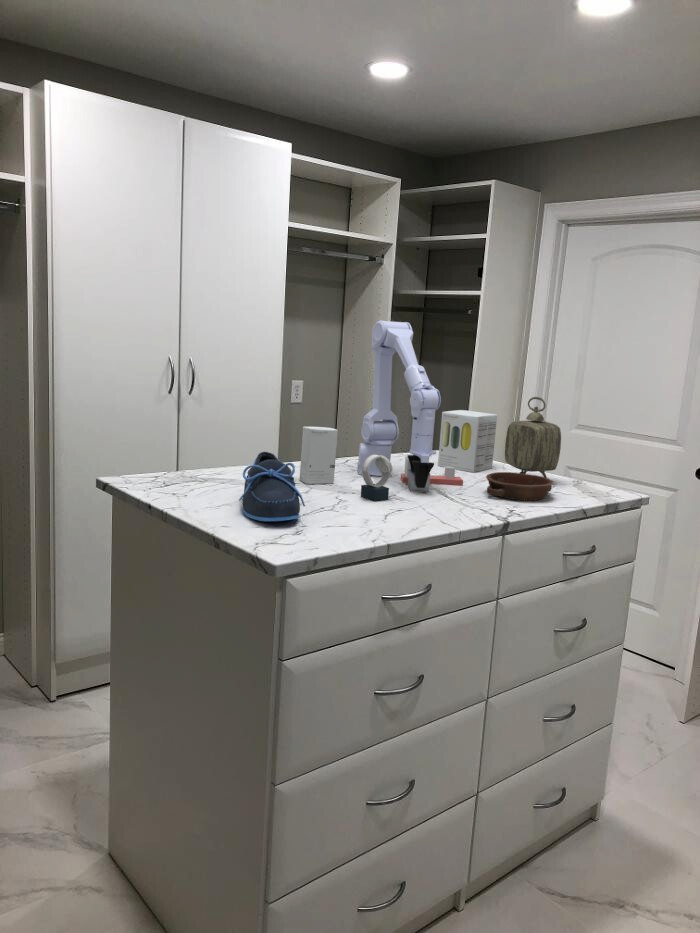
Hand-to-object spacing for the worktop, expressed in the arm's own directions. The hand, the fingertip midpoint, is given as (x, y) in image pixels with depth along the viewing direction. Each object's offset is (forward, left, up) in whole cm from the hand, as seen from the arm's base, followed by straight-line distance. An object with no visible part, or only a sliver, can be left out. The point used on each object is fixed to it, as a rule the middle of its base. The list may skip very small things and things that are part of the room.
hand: (418, 484), depth 203 cm
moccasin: (-38, -28, -2) cm, 47 cm away
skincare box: (-27, +4, -2) cm, 27 cm away
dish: (+27, -1, -2) cm, 27 cm away
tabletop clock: (+36, +20, -2) cm, 41 cm away
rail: (+5, +11, -1) cm, 12 cm away
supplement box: (+21, +38, -2) cm, 43 cm away
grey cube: (0, 0, -1) cm, 1 cm away
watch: (-13, -13, -2) cm, 18 cm away
